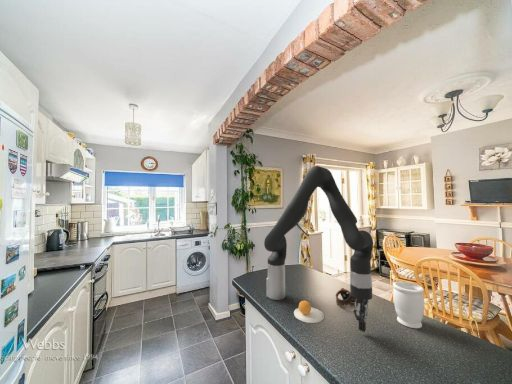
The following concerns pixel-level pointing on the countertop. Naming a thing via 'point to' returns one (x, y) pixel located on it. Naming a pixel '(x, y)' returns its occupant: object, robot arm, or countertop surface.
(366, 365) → the countertop surface
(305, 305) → the ball
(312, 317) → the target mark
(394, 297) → the jar
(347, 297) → the pottery mug
